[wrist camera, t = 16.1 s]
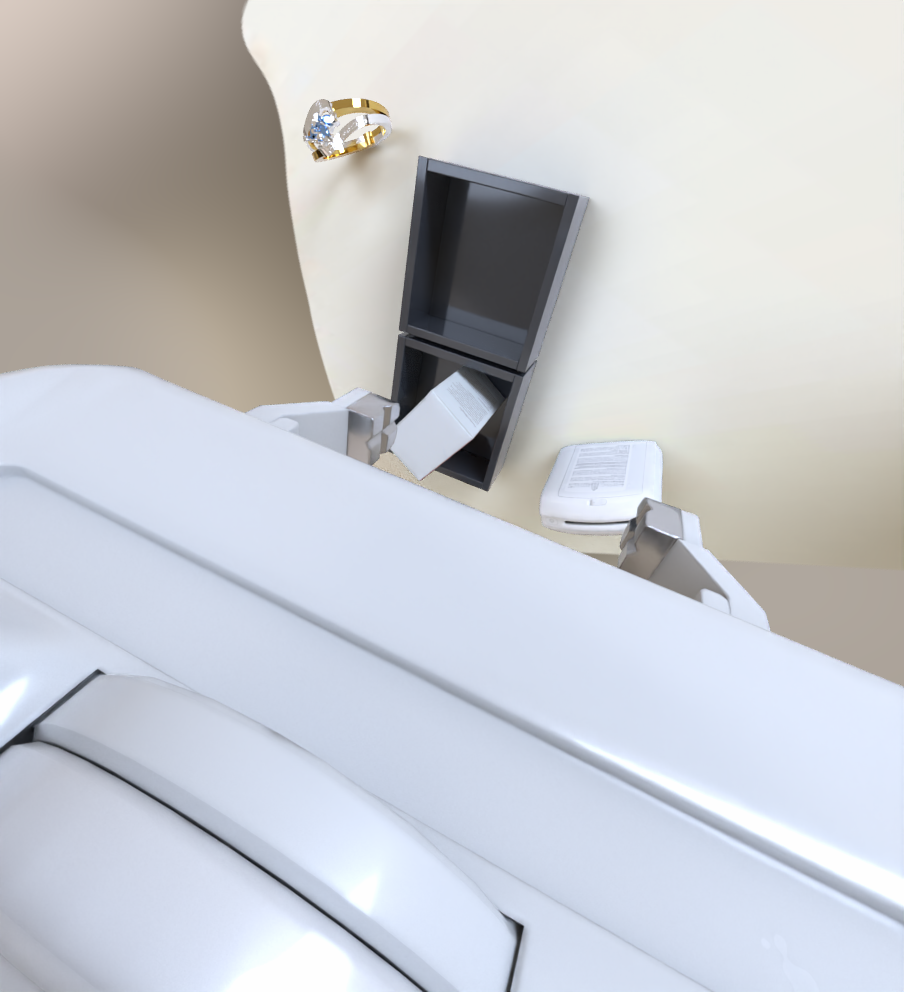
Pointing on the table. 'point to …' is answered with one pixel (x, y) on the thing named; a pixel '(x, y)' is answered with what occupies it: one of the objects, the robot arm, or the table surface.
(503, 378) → the basin
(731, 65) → the table surface
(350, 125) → the ring
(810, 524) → the table surface
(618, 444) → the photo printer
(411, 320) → the basin
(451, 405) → the small box
